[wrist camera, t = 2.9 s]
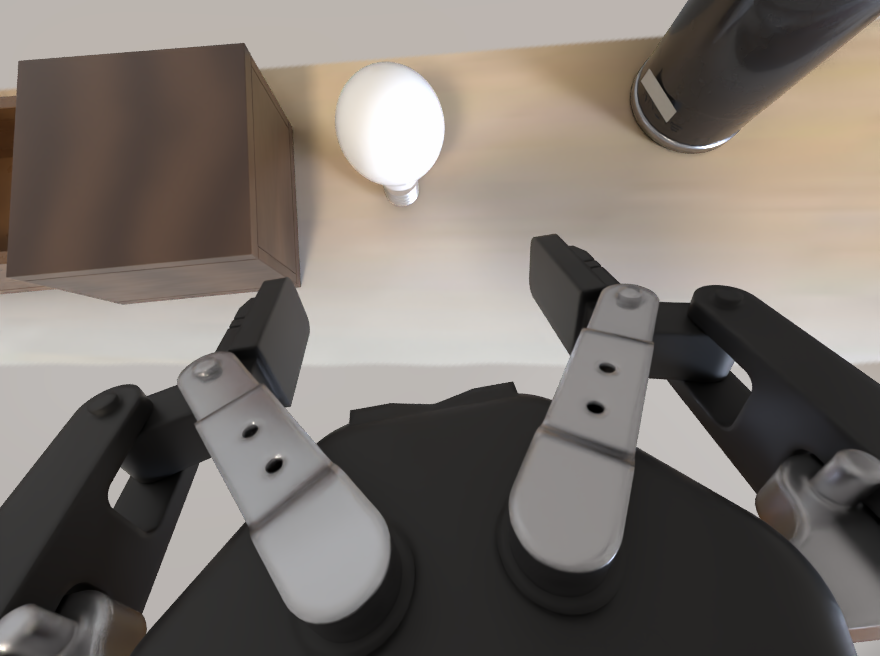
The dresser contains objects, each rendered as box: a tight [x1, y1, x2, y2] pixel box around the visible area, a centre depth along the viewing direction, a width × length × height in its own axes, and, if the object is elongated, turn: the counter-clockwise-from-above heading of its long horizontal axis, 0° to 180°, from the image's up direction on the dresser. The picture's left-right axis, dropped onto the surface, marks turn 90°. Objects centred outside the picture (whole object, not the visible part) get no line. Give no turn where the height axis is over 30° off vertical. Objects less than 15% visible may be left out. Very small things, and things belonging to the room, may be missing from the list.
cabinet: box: [6, 43, 301, 304], centre depth 25 cm, size 14×14×8 cm
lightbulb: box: [335, 62, 445, 206], centre depth 24 cm, size 6×6×11 cm
